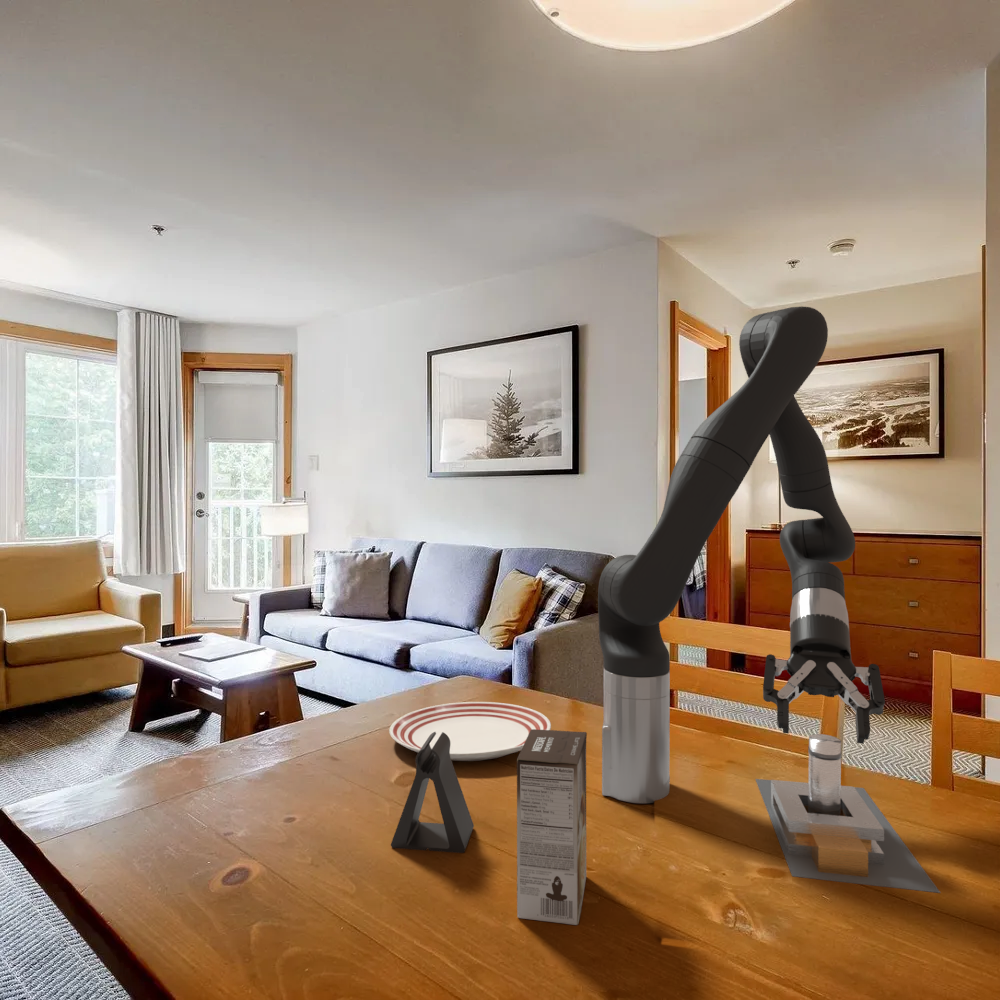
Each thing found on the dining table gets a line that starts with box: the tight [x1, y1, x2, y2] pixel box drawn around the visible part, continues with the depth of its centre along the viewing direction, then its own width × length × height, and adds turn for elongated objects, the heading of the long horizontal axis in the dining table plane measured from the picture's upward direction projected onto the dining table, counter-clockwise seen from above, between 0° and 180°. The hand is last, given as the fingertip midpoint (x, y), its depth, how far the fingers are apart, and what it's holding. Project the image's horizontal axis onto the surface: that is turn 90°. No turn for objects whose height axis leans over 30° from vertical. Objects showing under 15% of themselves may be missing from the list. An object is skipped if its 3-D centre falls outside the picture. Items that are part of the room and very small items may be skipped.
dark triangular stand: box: [390, 732, 475, 854], centre depth 83 cm, size 9×6×12 cm, turn 82°
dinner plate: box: [388, 701, 552, 762], centre depth 116 cm, size 28×27×3 cm
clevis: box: [770, 779, 884, 877], centre depth 81 cm, size 10×14×4 cm
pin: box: [807, 733, 843, 816], centre depth 82 cm, size 4×4×12 cm
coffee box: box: [516, 729, 588, 926], centre depth 71 cm, size 9×6×16 cm
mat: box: [755, 778, 941, 894], centre depth 85 cm, size 14×26×1 cm, turn 168°
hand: (822, 735), depth 85 cm, fingers open, 8 cm apart
